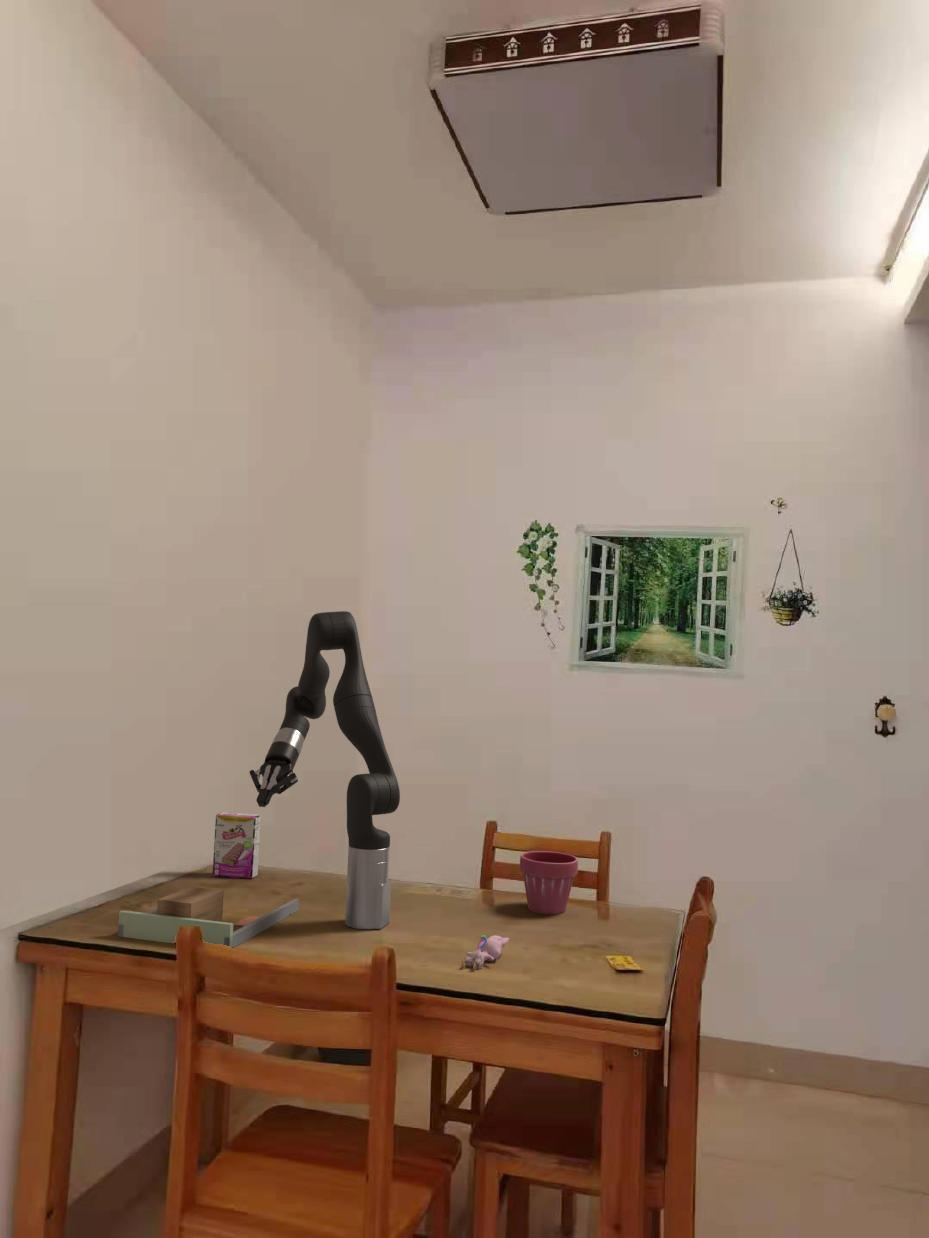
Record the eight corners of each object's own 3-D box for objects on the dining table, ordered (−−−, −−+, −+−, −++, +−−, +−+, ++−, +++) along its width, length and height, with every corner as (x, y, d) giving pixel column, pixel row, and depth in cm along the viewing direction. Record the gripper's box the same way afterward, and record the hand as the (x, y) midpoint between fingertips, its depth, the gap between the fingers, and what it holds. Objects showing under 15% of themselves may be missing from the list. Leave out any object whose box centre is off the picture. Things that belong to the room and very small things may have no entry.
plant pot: (586, 915, 223) (588, 861, 224) (532, 918, 219) (534, 863, 219) (560, 900, 237) (562, 849, 238) (509, 903, 232) (511, 851, 233)
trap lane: (298, 910, 218) (299, 888, 218) (229, 950, 186) (230, 924, 187) (201, 899, 224) (202, 878, 225) (117, 936, 193) (119, 911, 193)
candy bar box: (211, 877, 248) (214, 814, 249) (218, 873, 253) (221, 811, 254) (252, 879, 247) (255, 816, 248) (258, 875, 252) (261, 813, 252)
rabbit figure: (482, 980, 178) (518, 948, 191) (481, 950, 178) (517, 920, 191) (454, 974, 182) (492, 943, 194) (453, 944, 181) (490, 915, 194)
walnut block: (221, 928, 202) (223, 890, 202) (189, 943, 190) (191, 903, 191) (189, 923, 204) (191, 886, 204) (155, 938, 193) (157, 899, 193)
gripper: (257, 738, 238) (231, 793, 225) (305, 741, 235) (282, 797, 222) (265, 757, 243) (240, 812, 230) (313, 761, 240) (290, 816, 227)
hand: (261, 804), depth 226 cm, fingers closed
